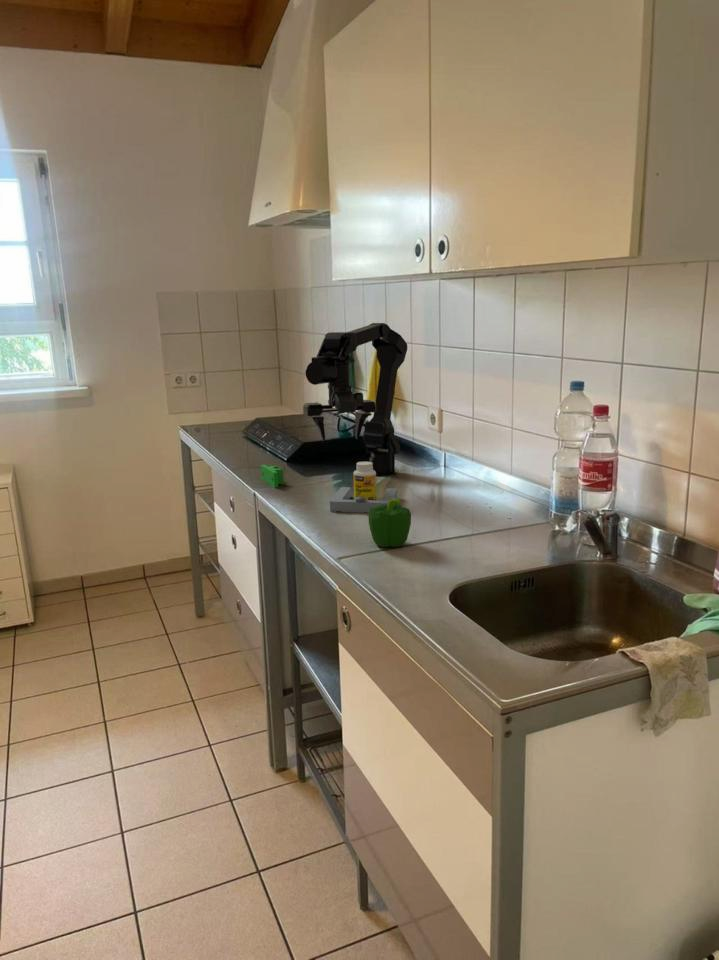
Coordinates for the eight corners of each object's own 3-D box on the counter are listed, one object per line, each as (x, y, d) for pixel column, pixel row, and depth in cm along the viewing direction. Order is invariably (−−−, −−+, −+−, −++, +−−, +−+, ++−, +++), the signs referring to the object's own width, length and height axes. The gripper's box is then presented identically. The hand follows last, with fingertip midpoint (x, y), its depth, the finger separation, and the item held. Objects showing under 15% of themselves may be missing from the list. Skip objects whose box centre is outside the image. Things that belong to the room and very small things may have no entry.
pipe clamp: (287, 487, 198) (286, 471, 197) (274, 489, 197) (273, 472, 196) (274, 478, 208) (273, 463, 207) (261, 480, 207) (260, 464, 205)
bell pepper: (361, 542, 150) (361, 495, 148) (395, 536, 154) (395, 490, 152) (382, 554, 143) (382, 505, 141) (417, 546, 147) (417, 499, 145)
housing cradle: (341, 496, 187) (340, 484, 186) (397, 498, 184) (397, 485, 184) (330, 511, 173) (329, 498, 172) (390, 513, 171) (390, 500, 170)
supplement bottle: (352, 505, 178) (350, 465, 176) (356, 500, 183) (355, 460, 181) (374, 506, 177) (373, 465, 174) (378, 500, 182) (377, 460, 180)
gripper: (311, 385, 179) (313, 447, 183) (383, 382, 185) (383, 442, 188) (301, 381, 190) (303, 440, 193) (369, 378, 195) (370, 435, 199)
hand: (340, 440), depth 193 cm, fingers open, 9 cm apart
